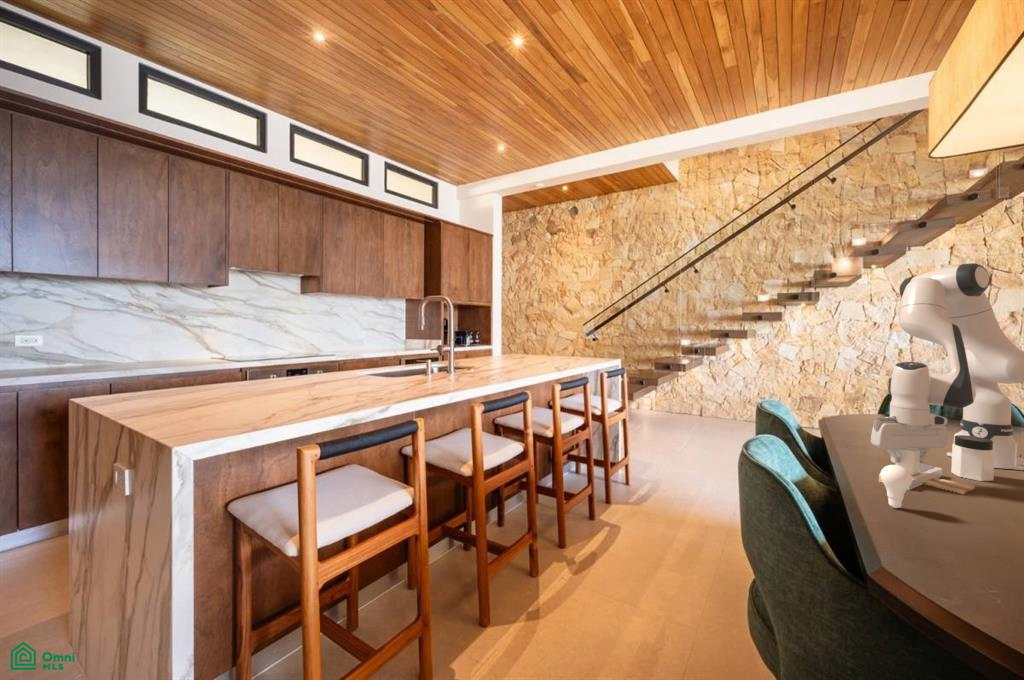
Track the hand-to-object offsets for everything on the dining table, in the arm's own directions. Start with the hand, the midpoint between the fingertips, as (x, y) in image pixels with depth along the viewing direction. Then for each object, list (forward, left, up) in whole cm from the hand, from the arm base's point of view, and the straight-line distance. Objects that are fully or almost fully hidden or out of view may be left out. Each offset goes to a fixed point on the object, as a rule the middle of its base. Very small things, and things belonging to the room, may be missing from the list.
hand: (907, 462), depth 129 cm
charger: (0, 0, -3) cm, 3 cm away
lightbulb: (+28, +7, -6) cm, 29 cm away
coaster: (-5, +7, -6) cm, 11 cm away
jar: (-23, +8, -6) cm, 25 cm away
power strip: (-6, 0, -6) cm, 8 cm away
